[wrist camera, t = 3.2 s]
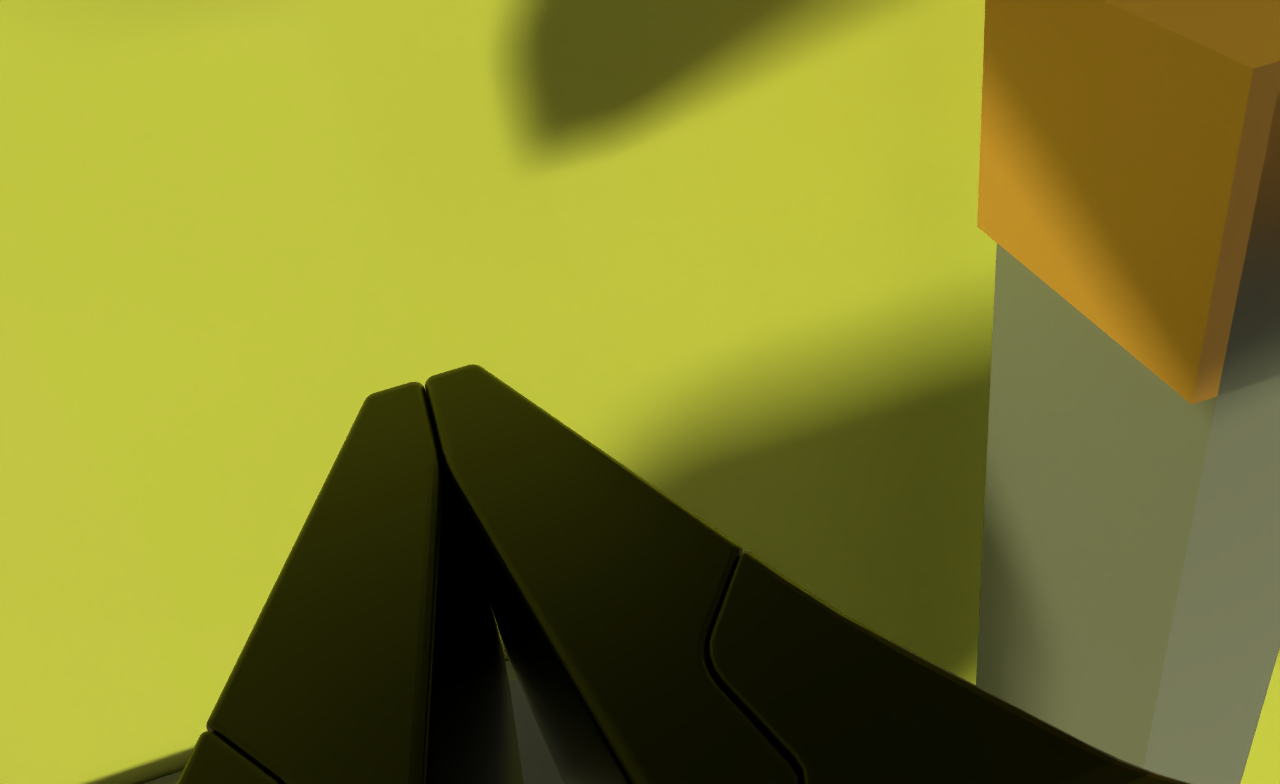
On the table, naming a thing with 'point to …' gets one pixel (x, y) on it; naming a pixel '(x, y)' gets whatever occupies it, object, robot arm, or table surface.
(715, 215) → the table surface
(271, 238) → the table surface
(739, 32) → the table surface
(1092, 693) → the bar
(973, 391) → the table surface
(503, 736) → the robot arm
